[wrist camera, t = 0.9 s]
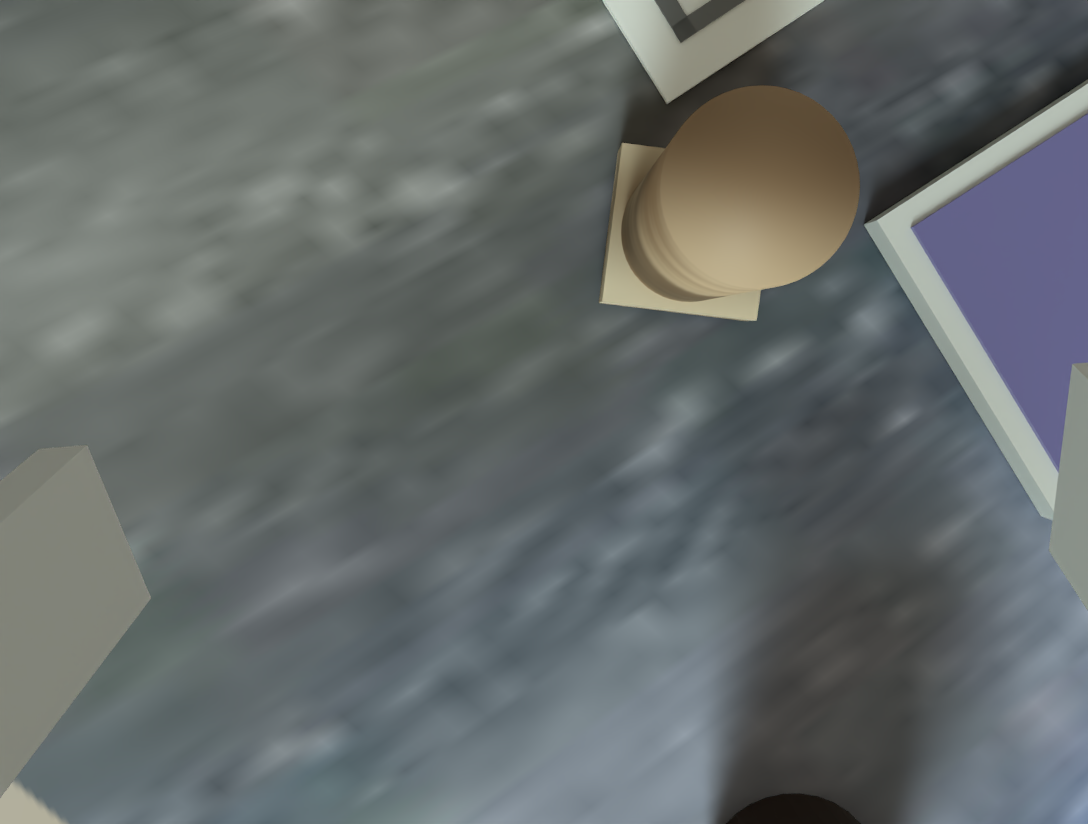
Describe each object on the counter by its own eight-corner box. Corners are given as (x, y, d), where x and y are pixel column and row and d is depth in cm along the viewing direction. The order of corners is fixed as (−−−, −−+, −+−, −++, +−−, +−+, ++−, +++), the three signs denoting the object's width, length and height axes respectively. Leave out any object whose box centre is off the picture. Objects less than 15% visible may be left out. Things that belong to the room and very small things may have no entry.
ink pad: (863, 224, 31) (879, 219, 30) (1091, 77, 31) (1117, 64, 29) (1040, 516, 32) (1064, 524, 31) (1263, 375, 32) (1297, 377, 30)
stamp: (742, 321, 31) (854, 315, 20) (597, 303, 31) (633, 287, 20) (762, 173, 31) (889, 86, 20) (616, 155, 31) (663, 57, 20)
